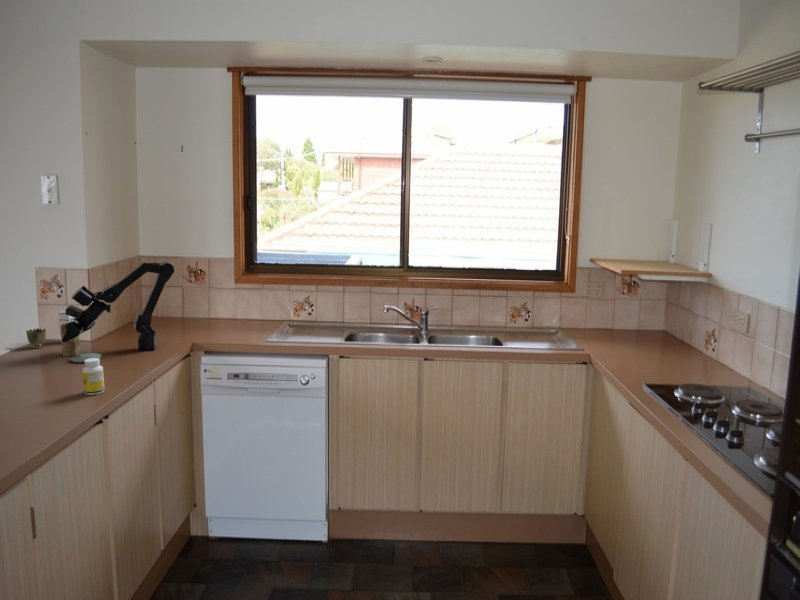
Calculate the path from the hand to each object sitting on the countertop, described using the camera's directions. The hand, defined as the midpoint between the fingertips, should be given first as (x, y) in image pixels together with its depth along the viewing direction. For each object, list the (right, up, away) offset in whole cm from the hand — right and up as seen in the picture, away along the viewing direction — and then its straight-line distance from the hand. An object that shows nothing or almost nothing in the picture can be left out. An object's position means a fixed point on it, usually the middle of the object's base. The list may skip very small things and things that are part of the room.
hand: (67, 339), depth 276 cm
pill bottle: (+33, -16, -48) cm, 61 cm away
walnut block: (+1, -7, +1) cm, 7 cm away
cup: (-19, -5, +12) cm, 23 cm away
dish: (+11, -8, -7) cm, 15 cm away
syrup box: (-10, -3, +23) cm, 25 cm away
